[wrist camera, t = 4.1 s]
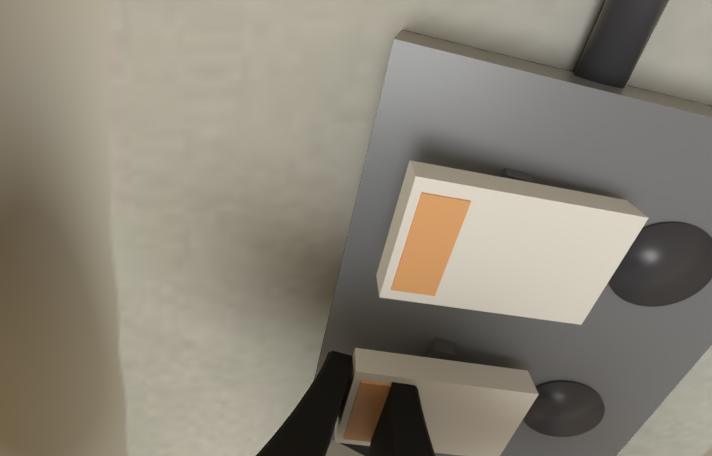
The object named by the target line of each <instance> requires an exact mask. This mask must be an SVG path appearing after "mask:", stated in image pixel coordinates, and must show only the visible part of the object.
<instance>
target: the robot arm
mask: <svg viewBox="0 0 712 456" xmlns="http://www.w3.org/2000/svg"><path fill="white" fill-rule="evenodd" d="M352 357H353V356H351V355H347V354H344V353H340V352H336V351H330V352H328V354H327V357H326V359H325V361H324V363H323V365H322V367H321V369H320V371H319V373H318V375H317V376H316V378H315V380H314V381H313V383H312V385H311V386H310V388H309V389H308V391H307V392H306V393H305V395H304V396H303V398H302V399H301V401H300V402H299V404H298V405H297V406H296V408H295V409H294V411H293V412H292V413H291V414H290V416H289V417H288V418H287V419H286V421H285V422H284V423H283V425H282V426H281V427H280V428H279V430H278V431H277V432H276V433H275V435H274V436H273V437H272V438H271V439H270V440H269V442H268V443H267V444H266V445H265V446H264V447H263V448H262V450H261V451H260V452H259V453H258V454H257V455H256V456H326V453H327V450H328V447H329V444H330V441H331V438H332V434H333V431H334V427H335V424H336V421H337V417H338V414H339V410H340V407H341V403H342V400H343V397H344V393H345V390H346V386H347V383H348V380H349V375H350V371H351V366H352V361H353V359H352ZM369 456H435V453H434V450H433V446H432V443H431V440H430V436H429V433H428V429H427V426H426V422H425V418H424V414H423V410H422V406H421V401H420V397H419V392H418V388H417V387H416V386H415V385H409V384H403V383H396V382H392V383H391V388H390V390H389V393H388V396H387V398H386V401H385V404H384V407H383V409H382V412H381V415H380V417H379V420H378V423H377V426H376V428H375V431H374V434H373V436H372V439H371V443H370V449H369Z"/></svg>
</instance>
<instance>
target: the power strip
mask: <svg viewBox="0 0 712 456" xmlns="http://www.w3.org/2000/svg"><path fill="white" fill-rule="evenodd" d="M668 1H669V0H606V1H605V3H604V6H603V8H602V10H601V13H600V15H599V17H598V19H597V22H596V24H595V26H594V28H593V31H592V33H591V35H590V37H589V40H588V42H587V44H586V46H585V49H584V51H583V53H582V55H581V58H580V60H579V62H578V64H577V67H576V69H575V71H574V72H571V71H567V70H563V69H559V68H555V67H550V66H546V65H542V64H538V63H534V62H530V61H526V60H522V59H518V58H514V57H510V56H506V55H502V54H498V53H494V52H490V51H486V50H482V49H478V48H474V47H469V46H465V45H461V44H457V43H453V42H449V41H445V40H441V39H437V38H433V37H429V36H425V35H421V34H417V33H413V32H409V31H405V30H402V31H401V32H400V33H399V34H398V35H397V36H396V37H395V38H394V40H393V45H392V49H391V53H390V57H389V62H388V66H387V70H386V74H385V79H384V83H383V87H382V92H381V96H380V100H379V104H378V109H377V113H376V117H375V122H374V126H373V130H372V134H371V139H370V143H369V147H368V151H367V156H366V160H365V164H364V169H363V173H362V177H361V181H360V186H359V190H358V194H357V199H356V203H355V207H354V211H353V216H352V220H351V224H350V228H349V233H348V237H347V241H346V246H345V250H344V254H343V258H342V263H341V267H340V271H339V276H338V280H337V284H336V288H335V293H334V297H333V301H332V305H331V310H330V314H329V318H328V323H327V327H326V331H325V335H324V340H323V344H322V348H321V353H320V357H319V361H318V365H317V370H316V374H315V378H316V376H317V375H318V373H319V371H320V369H321V367H322V365H323V363H324V361H325V359H326V357H327V354H328V352H330V351H336V352H340V353H344V354H347V355H351V356H353V354H354V350H355V348H360V349H368V350H375V351H383V352H391V353H398V354H406V355H413V356H421V357H428V358H436V359H443V360H451V361H459V362H466V363H474V364H481V365H489V366H496V367H504V368H512V369H519V370H527V371H528V372H529V374H530V376H531V379H532V381H533V383H534V385H535V387H536V389H537V392H538V394H539V395H538V396H537V398H536V400H535V401H534V403H533V404H532V406H531V407H530V409H529V411H528V412H527V414H526V415H525V417H524V418H523V420H522V422H521V423H520V425H519V426H518V428H517V430H516V431H515V433H514V434H513V436H512V437H511V439H510V441H509V442H508V444H507V445H506V447H505V449H504V450H503V452H502V453H501V455H500V456H616V455H617V454H618V453H619V452H620V451H621V449H622V448H623V447H624V446H625V445H626V444H627V442H628V441H629V440H630V439H631V438H632V437H633V435H634V434H635V433H636V432H637V431H638V430H639V428H640V427H641V426H642V425H643V424H644V423H645V421H646V420H647V419H648V418H649V417H650V416H651V415H652V413H653V412H654V411H655V410H656V409H657V408H658V406H659V405H660V404H661V403H662V402H663V401H664V399H665V398H666V397H667V396H668V395H669V394H670V392H671V391H672V390H673V389H674V388H675V387H676V385H677V384H678V383H679V382H680V381H681V380H682V378H683V377H684V376H685V375H686V374H687V373H688V372H689V370H690V369H691V368H692V367H693V366H694V365H695V363H696V362H697V361H698V360H699V359H700V358H701V356H702V355H703V354H704V353H705V352H706V351H707V349H708V348H709V347H710V346H711V345H712V106H708V105H704V104H700V103H696V102H692V101H688V100H684V99H680V98H676V97H672V96H668V95H664V94H660V93H656V92H652V91H648V90H644V89H640V88H636V87H631V86H627V85H626V83H627V81H628V80H629V78H630V76H631V74H632V72H633V70H634V68H635V66H636V64H637V62H638V60H639V58H640V56H641V54H642V52H643V50H644V48H645V46H646V44H647V42H648V40H649V38H650V36H651V34H652V32H653V30H654V28H655V26H656V25H657V23H658V21H659V19H660V17H661V15H662V13H663V11H664V9H665V7H666V5H667V3H668ZM409 160H411V161H416V162H422V163H427V164H433V165H438V166H444V167H449V168H455V169H460V170H465V171H471V172H476V173H482V174H487V175H493V176H498V177H504V178H509V179H514V180H520V181H525V182H531V183H536V184H542V185H547V186H553V187H558V188H563V189H569V190H574V191H580V192H585V193H591V194H596V195H602V196H607V197H612V198H618V199H623V200H627V201H628V202H629V203H631V204H632V205H633V206H634V207H636V208H637V209H638V210H639V211H641V212H642V213H643V214H644V215H646V216H647V217H648V220H647V222H646V223H645V225H644V226H643V228H642V229H641V231H640V233H639V234H638V236H637V237H636V239H635V241H634V242H633V244H632V245H631V247H630V248H629V250H628V252H627V253H626V255H625V256H624V258H623V260H622V261H621V263H620V264H619V266H618V268H617V269H616V271H615V272H614V274H613V275H612V277H611V279H610V280H609V282H608V283H607V285H606V287H605V288H604V290H603V291H602V293H601V294H600V296H599V298H598V299H597V301H596V302H595V304H594V306H593V307H592V309H591V310H590V312H589V314H588V315H587V317H586V318H585V320H584V321H583V323H582V325H579V324H572V323H564V322H557V321H550V320H542V319H535V318H528V317H520V316H513V315H506V314H498V313H491V312H484V311H476V310H469V309H461V308H454V307H447V306H439V305H432V304H425V303H417V302H410V301H403V300H395V299H388V298H381V297H379V292H378V285H377V278H376V275H377V271H378V268H379V264H380V261H381V257H382V254H383V250H384V247H385V243H386V240H387V236H388V233H389V230H390V226H391V223H392V219H393V216H394V212H395V209H396V205H397V202H398V198H399V195H400V191H401V188H402V184H403V181H404V178H405V174H406V171H407V167H408V164H409ZM315 378H314V380H315ZM332 440H334V441H335V427H334V431H333V434H332V438H331V441H330V444H331V442H332ZM330 444H329V446H330ZM340 444H342V445H344V446H346V447H348V448H350V449H352V450H354V451H356V452H358V453H360V454H362V455H364V456H369V449H370V446H365V445H355V444H345V443H340ZM328 448H329V447H328ZM435 456H461V455H451V454H442V453H435Z"/></svg>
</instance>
